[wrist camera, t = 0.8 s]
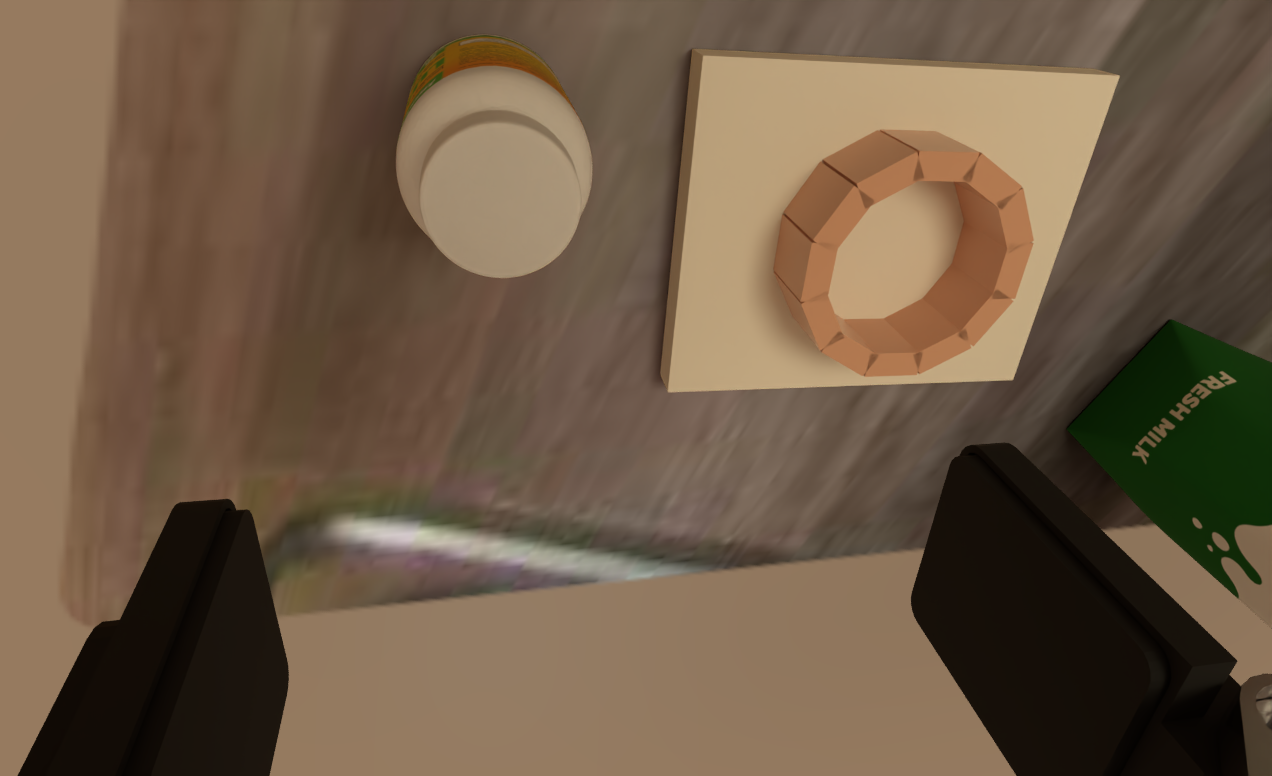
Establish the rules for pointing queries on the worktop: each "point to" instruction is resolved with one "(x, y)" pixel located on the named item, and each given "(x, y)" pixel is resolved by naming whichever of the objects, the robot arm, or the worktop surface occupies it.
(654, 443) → the worktop surface
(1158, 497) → the milk carton
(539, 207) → the supplement bottle
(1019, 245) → the bottle collar
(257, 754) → the robot arm
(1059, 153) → the coaster board
